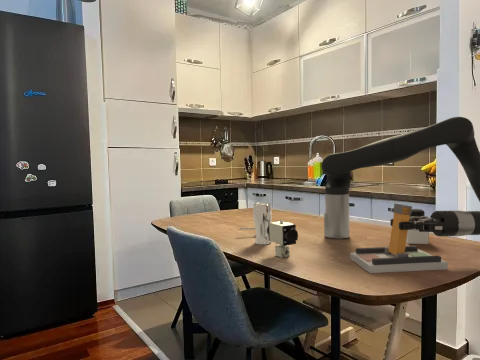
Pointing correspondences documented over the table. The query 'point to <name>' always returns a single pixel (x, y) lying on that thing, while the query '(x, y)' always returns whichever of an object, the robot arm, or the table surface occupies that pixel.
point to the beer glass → (262, 222)
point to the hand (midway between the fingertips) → (395, 224)
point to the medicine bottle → (417, 231)
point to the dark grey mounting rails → (399, 259)
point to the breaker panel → (366, 263)
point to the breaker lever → (398, 235)
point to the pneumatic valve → (282, 236)
